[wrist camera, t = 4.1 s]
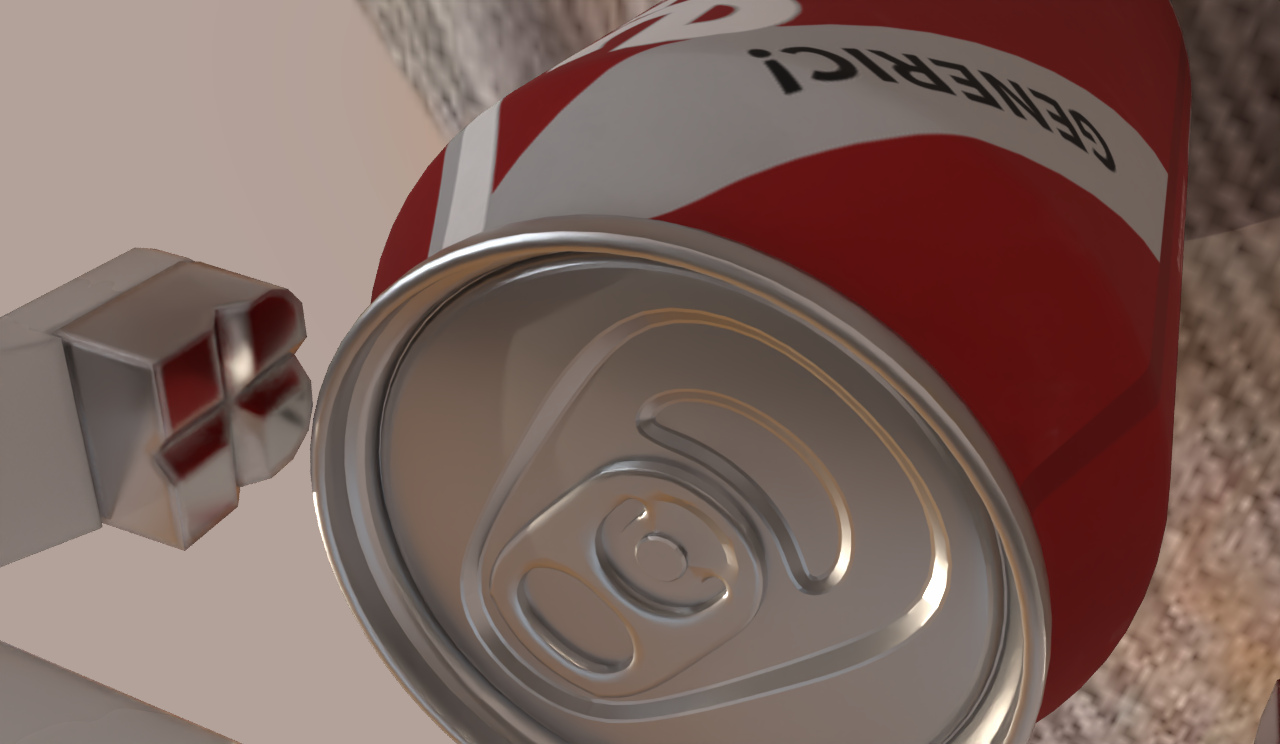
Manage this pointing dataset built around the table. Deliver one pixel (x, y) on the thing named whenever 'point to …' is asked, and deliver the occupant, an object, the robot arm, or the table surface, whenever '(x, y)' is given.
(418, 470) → the soda can
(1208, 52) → the table surface
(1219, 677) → the table surface
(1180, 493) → the table surface
